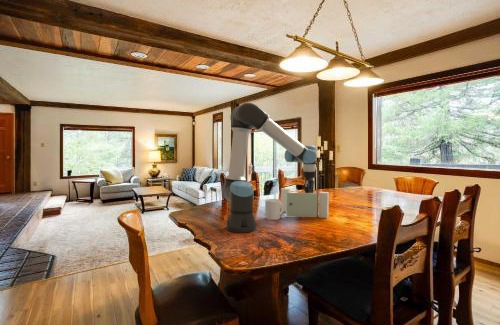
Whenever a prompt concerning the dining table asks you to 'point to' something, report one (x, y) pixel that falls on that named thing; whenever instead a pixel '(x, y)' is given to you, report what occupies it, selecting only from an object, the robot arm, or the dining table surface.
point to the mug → (272, 209)
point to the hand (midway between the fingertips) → (309, 208)
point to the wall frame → (322, 202)
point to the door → (302, 204)
